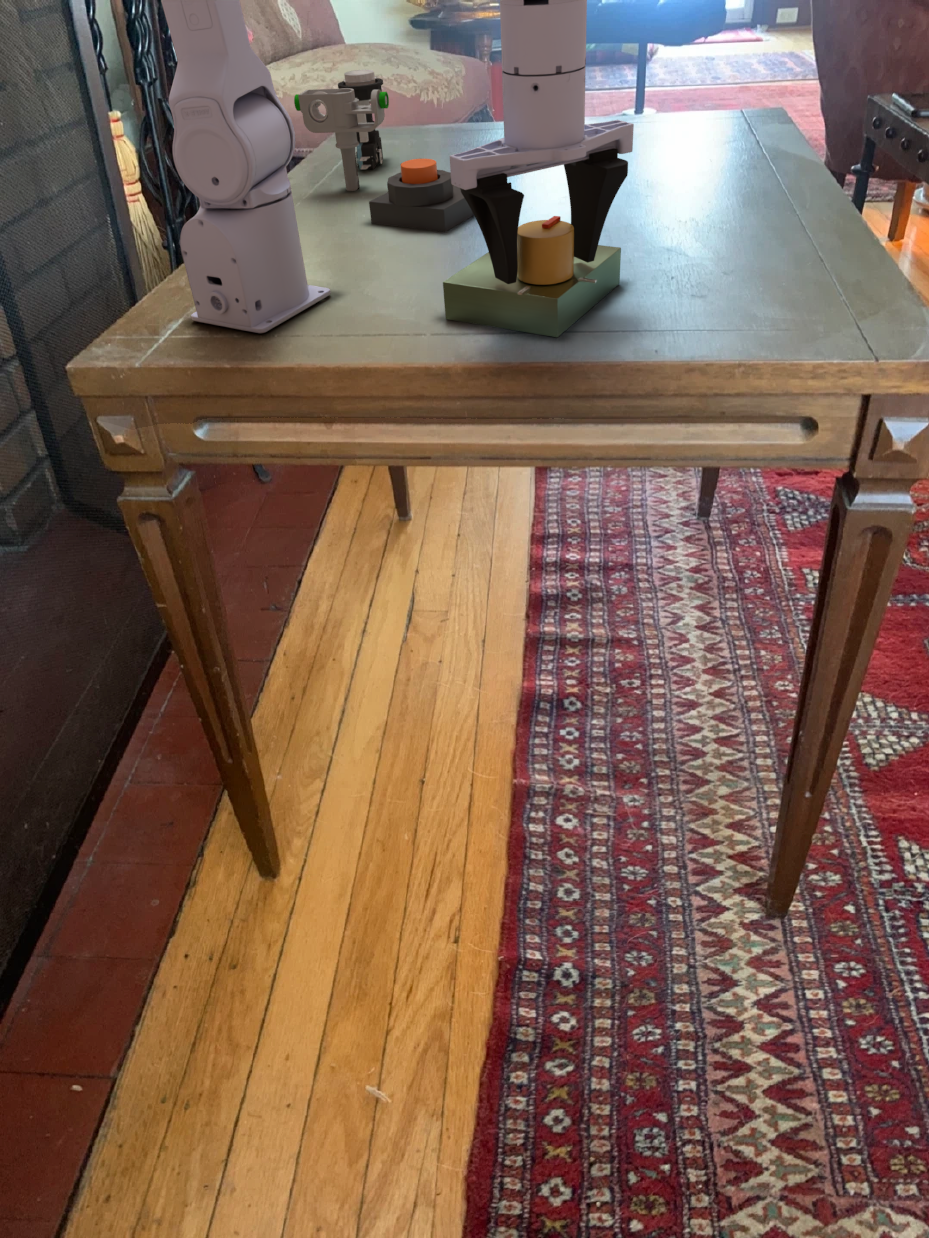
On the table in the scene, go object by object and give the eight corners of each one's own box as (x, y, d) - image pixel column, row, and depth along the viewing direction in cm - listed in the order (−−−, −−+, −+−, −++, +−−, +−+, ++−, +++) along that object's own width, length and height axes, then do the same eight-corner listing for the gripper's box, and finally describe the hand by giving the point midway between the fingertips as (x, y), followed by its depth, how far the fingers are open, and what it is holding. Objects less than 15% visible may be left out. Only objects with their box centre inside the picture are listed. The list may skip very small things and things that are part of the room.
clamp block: (571, 341, 69) (571, 300, 67) (443, 320, 74) (440, 281, 72) (634, 285, 77) (636, 247, 75) (514, 269, 82) (513, 233, 80)
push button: (385, 173, 110) (374, 78, 104) (342, 175, 111) (329, 80, 105) (395, 159, 115) (385, 67, 109) (353, 160, 116) (341, 69, 110)
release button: (425, 188, 91) (424, 169, 90) (395, 185, 93) (393, 166, 91) (444, 178, 93) (443, 159, 92) (414, 175, 95) (412, 157, 94)
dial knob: (558, 288, 70) (558, 236, 67) (507, 281, 71) (505, 230, 69) (582, 269, 72) (583, 218, 70) (532, 262, 74) (532, 213, 72)
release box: (444, 233, 91) (440, 190, 89) (369, 224, 95) (364, 183, 92) (503, 198, 99) (501, 158, 97) (432, 191, 103) (429, 152, 100)
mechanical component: (392, 193, 104) (381, 92, 97) (306, 193, 106) (290, 95, 99) (399, 185, 106) (389, 86, 99) (314, 186, 108) (299, 89, 101)
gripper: (482, 93, 58) (491, 306, 66) (665, 59, 63) (652, 261, 71) (429, 79, 63) (444, 279, 71) (603, 48, 68) (597, 239, 76)
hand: (545, 269), depth 72 cm, fingers open, 7 cm apart
